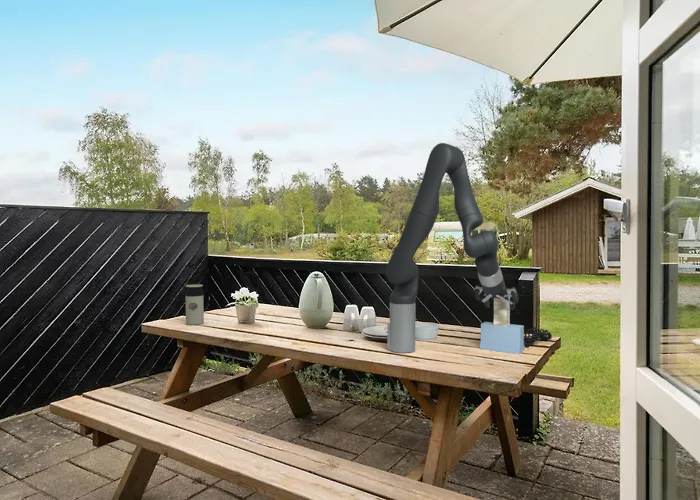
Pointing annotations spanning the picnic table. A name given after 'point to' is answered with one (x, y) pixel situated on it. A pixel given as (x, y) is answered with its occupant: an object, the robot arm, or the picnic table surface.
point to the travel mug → (194, 304)
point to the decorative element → (536, 336)
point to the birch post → (501, 312)
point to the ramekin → (426, 331)
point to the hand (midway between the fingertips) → (500, 307)
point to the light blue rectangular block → (502, 338)
